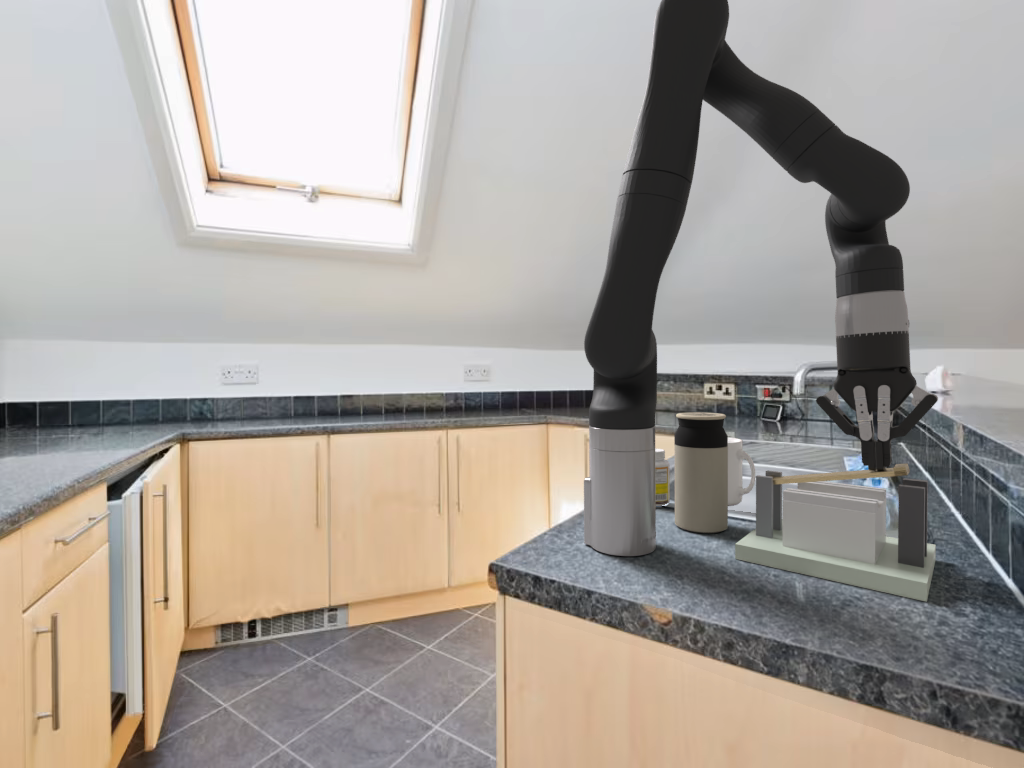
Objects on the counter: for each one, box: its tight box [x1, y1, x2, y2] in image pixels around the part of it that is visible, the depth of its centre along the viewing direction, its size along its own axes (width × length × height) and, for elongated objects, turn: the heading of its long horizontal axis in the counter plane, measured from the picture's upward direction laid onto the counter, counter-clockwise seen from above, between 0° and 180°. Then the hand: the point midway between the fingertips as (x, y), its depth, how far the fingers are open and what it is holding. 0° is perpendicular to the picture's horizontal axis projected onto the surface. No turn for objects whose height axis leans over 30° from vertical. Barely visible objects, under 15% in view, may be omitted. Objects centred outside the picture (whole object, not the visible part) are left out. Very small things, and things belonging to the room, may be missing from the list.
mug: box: [728, 436, 756, 507], centre depth 99 cm, size 10×12×12 cm
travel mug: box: [673, 411, 729, 534], centre depth 84 cm, size 8×8×18 cm
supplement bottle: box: [655, 447, 671, 506], centre depth 98 cm, size 6×6×10 cm
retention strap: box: [769, 462, 911, 485], centre depth 69 cm, size 17×3×1 cm, turn 48°
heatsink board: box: [734, 470, 937, 602], centre depth 69 cm, size 20×16×11 cm
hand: (877, 469), depth 66 cm, fingers closed
